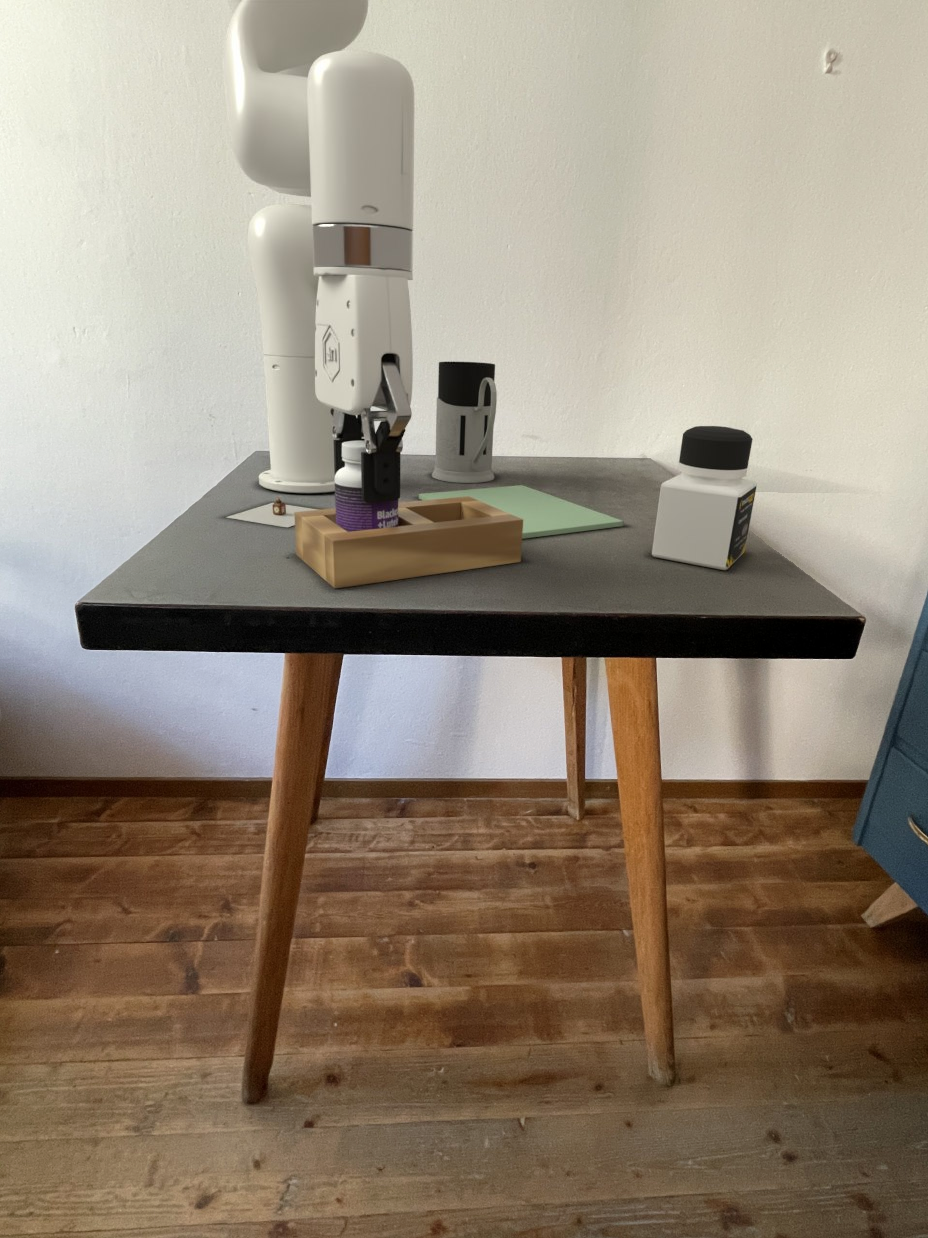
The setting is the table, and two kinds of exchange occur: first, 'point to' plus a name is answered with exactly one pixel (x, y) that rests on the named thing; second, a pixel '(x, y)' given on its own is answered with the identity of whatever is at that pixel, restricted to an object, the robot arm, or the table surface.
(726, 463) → the medicine bottle
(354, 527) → the pill bottle
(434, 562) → the holder
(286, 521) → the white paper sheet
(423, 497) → the mat
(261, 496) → the table surface
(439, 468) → the glass holder
